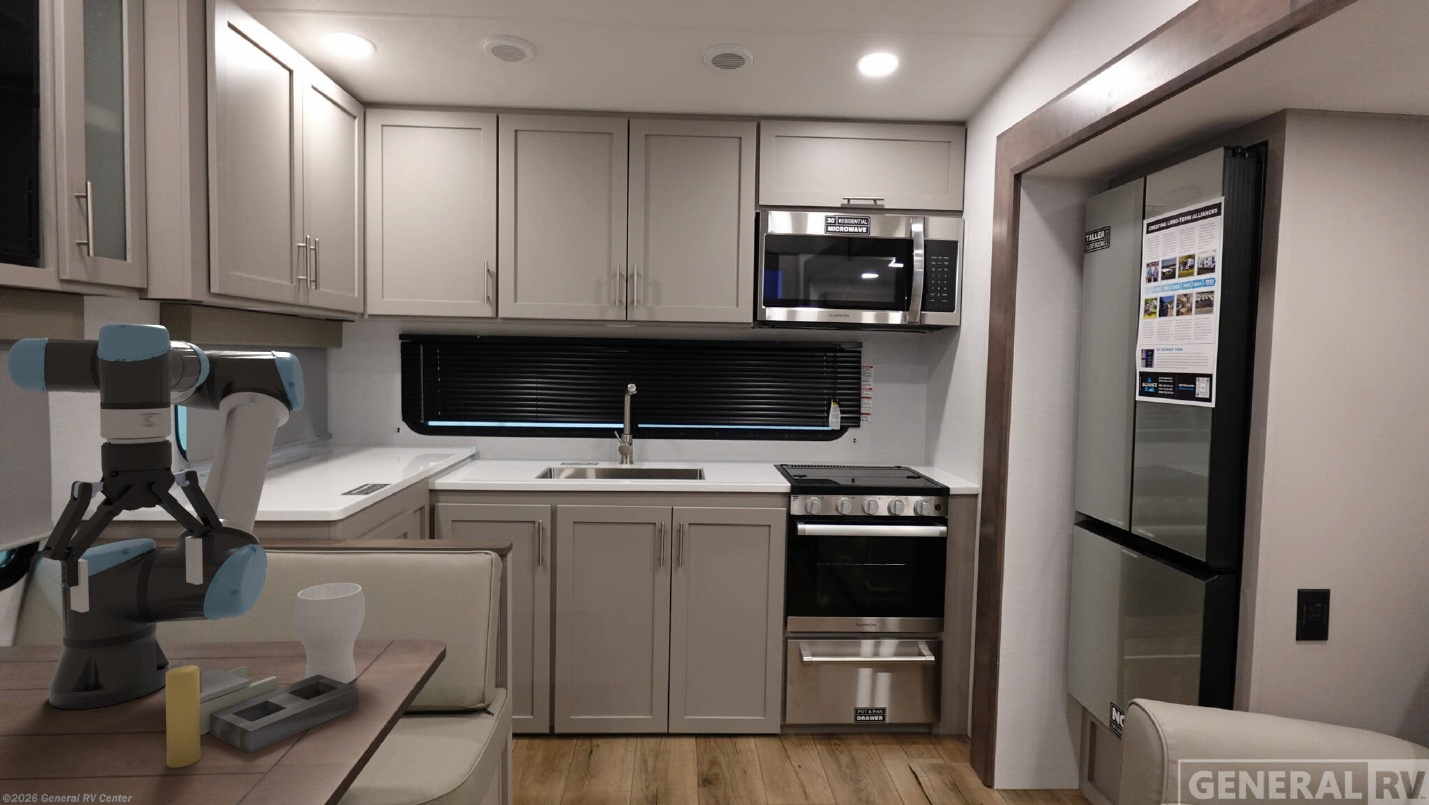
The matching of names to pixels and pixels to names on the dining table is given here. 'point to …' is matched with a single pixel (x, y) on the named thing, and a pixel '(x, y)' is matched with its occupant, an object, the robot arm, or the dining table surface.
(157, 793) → the dining table surface
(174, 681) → the peg
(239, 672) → the pale green box tray
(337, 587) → the cup
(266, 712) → the peg board
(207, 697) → the lid
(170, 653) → the dining table surface
